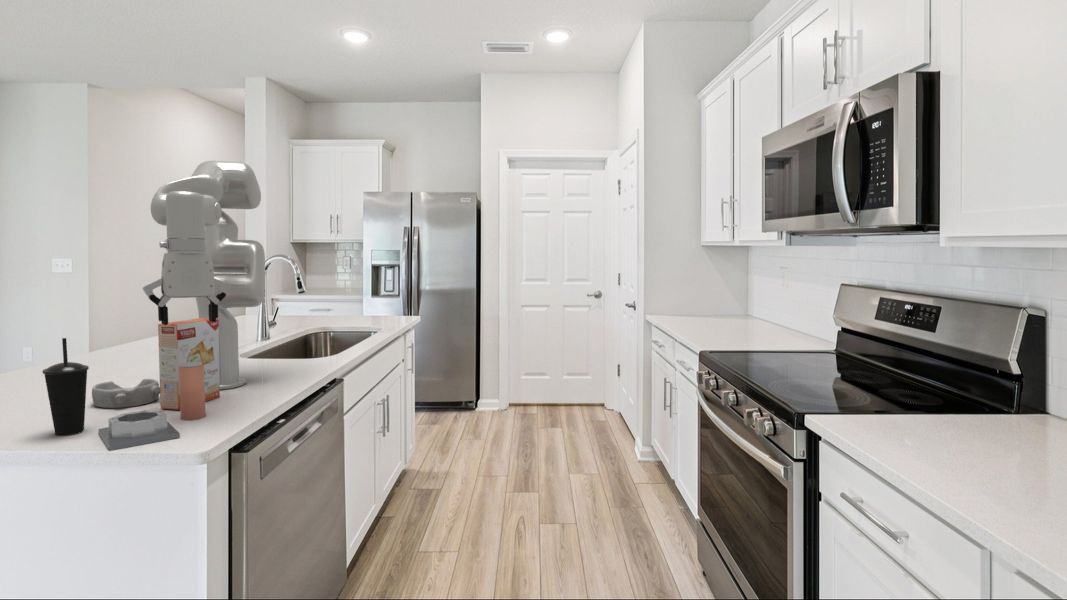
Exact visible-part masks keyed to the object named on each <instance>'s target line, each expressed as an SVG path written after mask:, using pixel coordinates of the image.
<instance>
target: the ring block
mask: <svg viewBox="0 0 1067 600" xmlns="http://www.w3.org/2000/svg"><path fill="white" fill-rule="evenodd" d="M97 431H98V435H99V437H100V438H101V440H102V442H103V443H104V444H105V446H106V448H107V449H108V451H114V450H120V449H125V448H131V447H136V446H142V445H143V446H144V445H148V444H152V443H153V444H155V443H157V442H164V441H170V440H174V439H180V438H181V433H180V432H179V431H178V430H177V429H176V428H175V427H174V426H173V425H172V424H171V423H170V422H169V421H168V414H167V413H166V412H165V411H163V410H146V409H145V410H139V411H133V412H132V411H131V412H125V413H121V414H119V415H116V416H113V417H110V418H108V427H103V428H102V427H101V428H98V430H97Z"/></svg>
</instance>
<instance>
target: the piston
mask: <svg viewBox="0 0 1067 600" xmlns="http://www.w3.org/2000/svg"><path fill="white" fill-rule="evenodd" d="M179 386H180V410H179V411H180V419H181V420H182V421H194V419H196V420H199V418H201V419H203V418H202V417H204V418H205V417H206V416H207V415H206V402H205V384H204V365H203V364H202V362H198V361H194V362H184V363H181V364H180V366H179Z"/></svg>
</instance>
